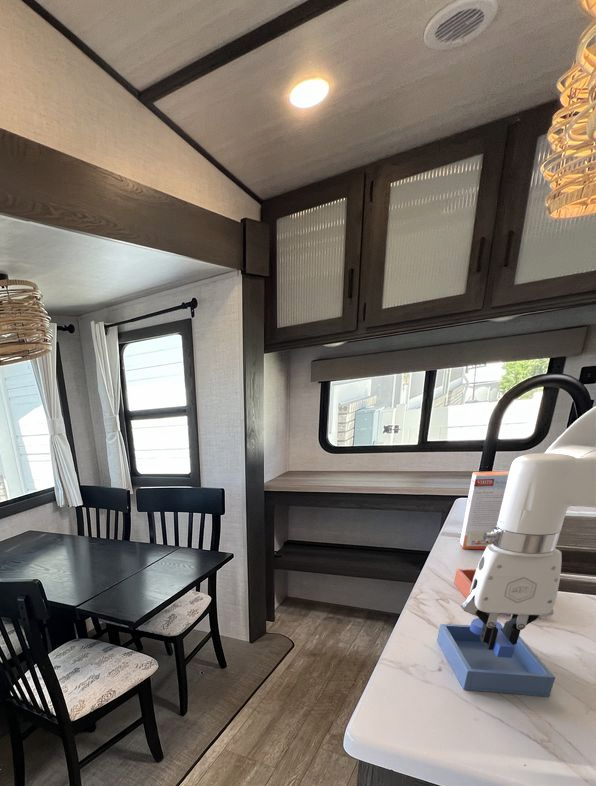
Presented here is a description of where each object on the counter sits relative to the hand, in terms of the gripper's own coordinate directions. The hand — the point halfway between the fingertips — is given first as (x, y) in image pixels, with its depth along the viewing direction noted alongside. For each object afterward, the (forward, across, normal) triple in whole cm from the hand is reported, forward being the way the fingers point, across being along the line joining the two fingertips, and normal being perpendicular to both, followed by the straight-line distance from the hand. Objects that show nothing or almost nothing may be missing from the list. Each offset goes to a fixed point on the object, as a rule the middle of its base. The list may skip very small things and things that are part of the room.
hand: (496, 645), depth 77 cm
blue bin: (+5, 0, +2) cm, 6 cm away
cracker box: (+5, +21, +68) cm, 71 cm away
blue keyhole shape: (0, 0, +2) cm, 3 cm away
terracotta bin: (+5, +11, +32) cm, 34 cm away
